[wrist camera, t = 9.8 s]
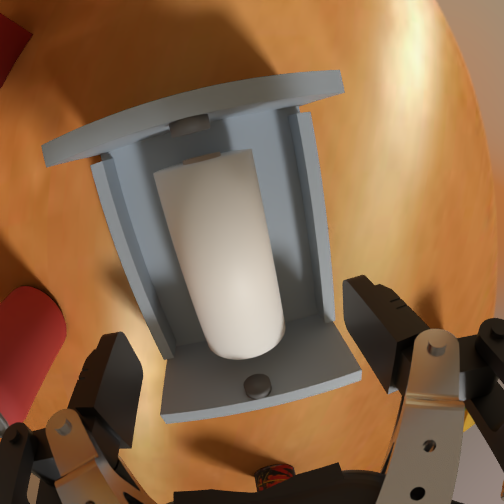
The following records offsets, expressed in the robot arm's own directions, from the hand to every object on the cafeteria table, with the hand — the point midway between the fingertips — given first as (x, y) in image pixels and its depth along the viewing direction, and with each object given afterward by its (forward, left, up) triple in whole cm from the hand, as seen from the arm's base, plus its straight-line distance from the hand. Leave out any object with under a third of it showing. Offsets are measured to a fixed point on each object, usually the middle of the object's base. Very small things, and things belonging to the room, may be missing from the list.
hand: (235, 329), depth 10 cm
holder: (0, 0, -11) cm, 11 cm away
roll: (0, 0, -10) cm, 10 cm away
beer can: (+3, -18, -11) cm, 22 cm away
